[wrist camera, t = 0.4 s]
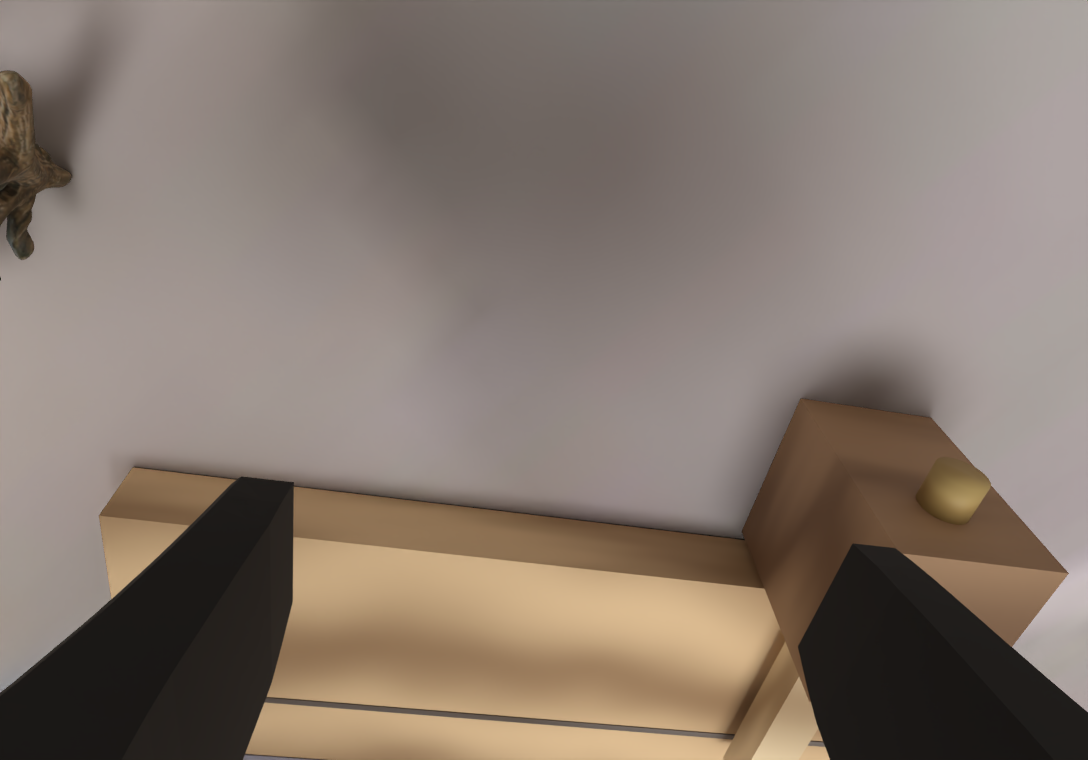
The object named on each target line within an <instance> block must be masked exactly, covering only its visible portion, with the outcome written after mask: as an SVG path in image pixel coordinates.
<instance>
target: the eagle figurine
mask: <svg viewBox="0 0 1088 760" xmlns="http://www.w3.org/2000/svg"><path fill="white" fill-rule="evenodd" d="M71 178H72V177H71V174H70V173H69V172H68V171H66V170H64V169H63V168H61V167H59V166H57V165H56V164H54V163H53V162H52V161H51V157H50V155H49V154H48V153H47V152H46V151H45V150H44V149H43V148H41V147H39V146H38V145H37V144H35V133H34V121H33V106H32V89H31V87H30V84H29V83H28V82H27V81H26V80H25V79H24V78H23V77H22V76H20V75H19V74H18V73H16V72H14V71H2V72H0V225H1V224H2V222H3V221H4V220H5V218H6V217H7V235H6V237H7V240H8V242H9V244H10V246H11V248H12V250H13V251H14V253H15V255H16V256H17V257H18V258H19V259H21V260H24V259H27V258H28V257H29V256H30V255H31V254H32V252H33V251H34V243H33V241H32V239H31V237H30V235H29V233H28V231H27V227H28V225H29V223H30V222H31V219H32V211H31V209H32V206H33V204H34V202H35V197H36V194H37V193H39V192H40V191H42V190H44V189H46V188H53V187H62V186H65V185H67V184H68V183H69V182H70V180H71ZM0 280H1V278H0Z"/></svg>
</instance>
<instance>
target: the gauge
mask: <svg viewBox="0 0 1088 760" xmlns="http://www.w3.org/2000/svg"><path fill="white" fill-rule="evenodd" d="M742 533H743V536H744V538H745V541H746V543H747V546H748V548H749V551H750V553H751V556H752V559H753V561H754V564H755V566H756V569H757V571H758V574H759V576H760V579H761V581H762V584H763V586H764V589H765V591H766V594H767V596H768V599H769V601H770V604H771V607H772V609H773V612H774V614H775V617H776V619H777V622H778V624H779V627H780V629H781V632H782V634H783V637H784V639H785V643H784V645H783V647H782V649H781V651H780V652H779V654H778V656H777V658H776V660H775V662H774V664H773V665H772V667H771V669H770V671H769V673H768V675H767V677H766V678H765V680H764V682H763V684H762V686H761V688H760V690H759V691H758V693H757V695H756V697H755V699H754V701H753V703H752V704H751V706H750V708H749V710H748V712H747V714H746V716H745V717H744V719H743V721H742V723H741V725H740V727H739V729H738V730H737V732H736V734H735V736H734V738H733V740H732V742H731V743H730V745H729V747H728V749H727V751H726V753H725V755H724V756H723V760H799V758H800V757H801V755H802V754H803V752H804V750H805V749H806V747H807V746H808V744H809V742H810V741H811V739H812V738H813V736H814V734H815V733H816V731H817V730H818V726H817V723H816V719H815V716H814V712H813V708H812V704H811V701H810V697H809V693H808V689H807V685H806V681H805V676H804V672H803V667H802V663H801V659H800V654H799V650H798V645H799V643H800V641H801V639H802V638H803V636H804V634H805V632H806V630H807V628H808V626H809V624H810V623H811V621H812V619H813V617H814V615H815V613H816V611H817V609H818V607H819V606H820V604H821V602H822V600H823V598H824V596H825V594H826V592H827V590H828V589H829V587H830V585H831V583H832V581H833V579H834V577H835V575H836V574H837V572H838V570H839V568H840V566H841V564H842V562H843V560H844V558H845V557H846V555H847V553H848V551H849V549H850V547H851V545H852V543H854V544H863V545H872V546H881V547H891V548H896V549H897V550H898V551H900V552H901V553H902V554H904V555H905V556H906V557H907V558H909V559H910V560H911V561H913V562H914V563H915V564H916V565H917V566H919V567H920V568H921V569H922V570H924V571H925V572H926V573H927V574H928V575H930V576H931V577H932V578H933V579H934V580H935V581H937V582H938V583H939V584H940V585H941V586H942V587H944V588H945V589H946V590H947V591H948V592H949V593H951V594H952V595H953V596H954V597H955V598H956V599H957V600H959V601H960V602H961V603H962V604H963V605H964V606H965V607H967V608H968V609H969V610H970V611H971V612H972V613H973V614H975V615H976V616H977V617H978V618H979V619H980V620H981V621H983V622H984V623H985V624H986V625H987V626H988V627H989V628H990V629H992V630H993V631H994V632H995V633H996V634H997V635H998V636H1000V637H1001V638H1002V639H1003V640H1004V641H1005V642H1006V643H1008V644H1009V645H1010V646H1011V647H1012V646H1013V645H1014V643H1015V642H1016V641H1017V639H1018V638H1019V637H1020V636H1021V634H1022V633H1023V632H1024V630H1025V629H1026V628H1027V627H1028V625H1029V624H1030V623H1031V621H1032V620H1033V619H1034V617H1035V616H1036V615H1037V614H1038V612H1039V611H1040V610H1041V608H1042V607H1043V606H1044V605H1045V603H1046V602H1047V601H1048V599H1049V598H1050V597H1051V596H1052V594H1053V593H1054V592H1055V590H1056V589H1057V588H1058V587H1059V585H1060V584H1061V583H1062V581H1063V580H1064V579H1065V578H1066V576H1067V575H1068V574H1069V573H1068V572H1067V571H1066V570H1065V569H1064V568H1063V566H1062V565H1061V564H1060V563H1059V562H1058V561H1057V560H1056V559H1055V557H1054V556H1053V555H1052V554H1051V553H1050V552H1049V551H1048V549H1047V548H1046V547H1045V546H1044V545H1043V544H1042V543H1041V542H1040V540H1039V539H1038V538H1037V537H1036V536H1035V535H1034V534H1033V532H1032V531H1031V530H1030V529H1029V528H1028V527H1027V526H1026V525H1025V523H1024V522H1023V521H1022V520H1021V519H1020V518H1019V517H1018V515H1017V514H1016V513H1015V512H1014V511H1013V510H1012V509H1011V508H1010V506H1009V505H1008V504H1007V503H1006V502H1005V501H1004V500H1003V498H1002V497H1001V496H1000V495H999V494H998V493H997V492H996V491H995V489H994V488H993V487H992V486H991V483H990V481H989V479H988V478H987V477H986V476H985V475H984V474H983V473H982V472H981V471H980V470H978V469H977V468H975V467H974V466H973V465H972V463H971V462H970V461H969V460H968V459H967V458H966V457H965V455H964V454H963V453H962V452H961V451H960V450H959V449H958V448H957V446H956V445H955V444H954V443H953V442H952V441H951V440H950V438H949V437H948V436H947V435H946V434H945V433H944V432H943V431H942V429H941V428H940V427H939V426H938V425H937V424H936V423H935V421H934V420H933V419H932V418H929V417H923V416H916V415H909V414H902V413H896V412H889V411H882V410H875V409H869V408H862V407H855V406H849V405H842V404H835V403H828V402H822V401H815V400H808V399H802V398H801V399H800V401H799V403H798V405H797V408H796V410H795V412H794V415H793V417H792V419H791V421H790V424H789V426H788V428H787V430H786V433H785V435H784V437H783V439H782V442H781V444H780V446H779V448H778V451H777V453H776V455H775V457H774V460H773V462H772V464H771V466H770V469H769V471H768V473H767V475H766V478H765V480H764V482H763V484H762V487H761V489H760V491H759V493H758V496H757V498H756V500H755V502H754V505H753V507H752V509H751V511H750V514H749V516H748V518H747V521H746V523H745V525H744V527H743V530H742Z"/></svg>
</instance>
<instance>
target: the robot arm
mask: <svg viewBox="0 0 1088 760" xmlns="http://www.w3.org/2000/svg"><path fill="white" fill-rule="evenodd" d="M293 517H294V482H284V481H275V480H266V479H257V478H248V477H240V478H239V479H237V480H236V481H234V482H233V483H231V484H230V486H229V487H228V488H227V489H226V490H225V491H224V492H223V493H222V494H221V495H220V496H219V497H218V498H217V499H216V500H215V501H214V502H213V503H212V504H211V505H210V506H209V507H208V508H207V509H206V510H205V511H204V512H203V513H202V514H201V515H200V516H199V517H198V518H197V519H196V520H195V521H194V522H193V523H192V524H191V525H190V526H189V527H188V528H187V529H186V530H185V531H184V532H183V533H182V534H181V535H180V536H179V537H178V538H177V539H176V540H175V541H174V542H173V543H172V544H171V545H170V546H168V547H167V548H166V549H165V550H164V551H163V552H162V553H161V554H160V555H159V556H158V557H157V558H156V559H155V560H154V561H153V562H152V563H151V564H150V565H148V566H147V567H146V568H145V569H144V570H143V571H142V572H141V573H140V574H139V575H137V576H136V577H135V578H134V579H133V580H132V581H131V582H130V583H129V584H128V585H127V586H125V587H124V588H123V589H122V590H121V591H120V592H119V593H118V594H117V595H116V596H115V597H113V598H112V599H111V600H110V601H109V602H108V603H107V604H106V605H105V606H104V607H102V608H101V609H100V610H99V611H98V612H97V613H96V614H95V615H93V616H92V617H91V618H90V619H89V620H88V621H86V622H85V623H84V624H83V625H82V626H81V627H79V628H78V629H77V630H76V631H75V632H73V633H72V634H71V635H70V636H69V637H67V638H66V639H65V640H64V641H63V642H61V643H60V644H59V645H58V646H57V647H55V648H54V649H53V650H52V651H51V652H49V653H48V654H47V655H46V656H45V657H43V658H42V659H41V660H40V661H39V662H37V663H36V664H35V665H34V666H33V667H31V668H30V669H29V670H28V671H27V672H25V673H24V674H23V675H22V676H21V677H19V678H18V679H17V680H16V681H15V682H13V683H12V684H11V685H10V686H8V687H7V688H6V689H5V690H3V691H2V692H1V693H0V760H315V759H300V758H286V757H272V756H257V755H245V753H246V750H247V748H248V745H249V742H250V740H251V737H252V734H253V732H254V729H255V726H256V724H257V721H258V718H259V716H260V713H261V710H262V708H263V705H264V702H265V700H266V697H267V694H268V691H269V689H270V686H271V683H272V680H273V676H274V673H275V669H276V665H277V661H278V658H279V654H280V650H281V646H282V642H283V638H284V635H285V631H286V627H287V623H288V619H289V615H290V611H291V607H292V603H293ZM798 650H799V654H800V659H801V663H802V667H803V672H804V676H805V681H806V685H807V689H808V693H809V697H810V701H811V704H812V708H813V712H814V716H815V719H816V723H817V726H818V729H819V731H820V734H821V737H822V740H823V742H824V745H825V748H826V750H827V753H828V756H829V758H830V760H1088V712H1087V711H1085V710H1084V709H1083V708H1082V707H1081V706H1079V705H1078V704H1077V703H1076V702H1075V701H1074V700H1072V699H1071V698H1070V697H1069V696H1068V695H1066V694H1065V693H1064V692H1063V691H1062V690H1061V689H1059V688H1058V687H1057V686H1056V685H1055V684H1054V683H1052V682H1051V681H1050V680H1049V679H1048V678H1047V677H1045V676H1044V675H1043V674H1042V673H1041V672H1040V671H1038V670H1037V669H1036V668H1035V667H1034V666H1033V665H1032V664H1030V663H1029V662H1028V661H1027V660H1026V659H1025V658H1024V657H1022V656H1021V655H1020V654H1019V653H1018V652H1017V651H1016V650H1014V649H1013V648H1012V647H1011V646H1010V645H1009V644H1008V643H1006V642H1005V641H1004V640H1003V639H1002V638H1001V637H1000V636H998V635H997V634H996V633H995V632H994V631H993V630H992V629H990V628H989V627H988V626H987V625H986V624H985V623H984V622H983V621H981V620H980V619H979V618H978V617H977V616H976V615H975V614H973V613H972V612H971V611H970V610H969V609H968V608H967V607H965V606H964V605H963V604H962V603H961V602H960V601H959V600H957V599H956V598H955V597H954V596H953V595H952V594H951V593H949V592H948V591H947V590H946V589H945V588H944V587H942V586H941V585H940V584H939V583H938V582H937V581H935V580H934V579H933V578H932V577H931V576H930V575H928V574H927V573H926V572H925V571H924V570H922V569H921V568H920V567H919V566H917V565H916V564H915V563H914V562H913V561H911V560H910V559H909V558H907V557H906V556H905V555H904V554H902V553H901V552H900V551H898V550H897V549H896V548H891V547H881V546H872V545H863V544H854V543H852V545H851V547H850V549H849V551H848V553H847V555H846V557H845V558H844V560H843V562H842V564H841V566H840V568H839V570H838V572H837V574H836V575H835V577H834V579H833V581H832V583H831V585H830V587H829V589H828V590H827V592H826V594H825V596H824V598H823V600H822V602H821V604H820V606H819V607H818V609H817V611H816V613H815V615H814V617H813V619H812V621H811V623H810V624H809V626H808V628H807V630H806V632H805V634H804V636H803V638H802V639H801V641H800V643H799V645H798Z"/></svg>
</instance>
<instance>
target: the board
mask: <svg viewBox="0 0 1088 760" xmlns="http://www.w3.org/2000/svg"><path fill="white" fill-rule="evenodd" d="M234 481H236V480H235V479H226V478H218V477H209V476H201V475H193V474H184V473H176V472H167V471H159V470H151V469H142V468H134V467H133V468H132V469H131V471H130V472H129V474H128V475H127V476H126V478H125V479H124V481H123V482H122V483H121V485H120V486H119V488H118V489H117V491H116V492H115V493H114V495H113V496H112V498H111V499H110V501H109V502H108V503H107V505H106V506H105V508H104V509H103V511H102V512H101V513H100V515H99V520H100V526H101V533H102V540H103V546H104V553H105V559H106V566H107V573H108V579H109V586H110V593H111V599H112V598H113V597H115V596H116V595H117V594H118V593H119V592H120V591H121V590H122V589H123V588H124V587H125V586H127V585H128V584H129V583H130V582H131V581H132V580H133V579H134V578H135V577H136V576H137V575H139V574H140V573H141V572H142V571H143V570H144V569H145V568H146V567H147V566H148V565H150V564H151V563H152V562H153V561H154V560H155V559H156V558H157V557H158V556H159V555H160V554H161V553H162V552H163V551H164V550H165V549H166V548H167V547H168V546H170V545H171V544H172V543H173V542H174V541H175V540H176V539H177V538H178V537H179V536H180V535H181V534H182V533H183V532H184V531H185V530H186V529H187V528H188V527H189V526H190V525H191V524H192V523H193V522H194V521H195V520H196V519H197V518H198V517H199V516H200V515H201V514H202V513H203V512H204V511H205V510H206V509H207V508H208V507H209V506H210V505H211V504H212V503H213V502H214V501H215V500H216V499H217V498H218V497H219V496H220V495H221V494H222V493H223V492H224V491H225V490H226V489H227V488H228V487H229V486H230V484H231V483H233V482H234ZM784 643H785V639H784V637H783V634H782V632H781V629H780V627H779V624H778V622H777V619H776V617H775V614H774V612H773V609H772V607H771V604H770V601H769V599H768V596H767V594H766V591H765V589H764V586H763V584H762V581H761V579H760V576H759V574H758V571H757V569H756V566H755V564H754V561H753V559H752V556H751V553H750V551H749V548H748V546H747V543H746V541H745V540H739V539H731V538H722V537H714V536H705V535H697V534H689V533H680V532H672V531H663V530H655V529H647V528H638V527H630V526H621V525H613V524H605V523H596V522H588V521H579V520H571V519H563V518H554V517H546V516H537V515H529V514H521V513H512V512H504V511H495V510H487V509H478V508H470V507H462V506H453V505H445V504H436V503H428V502H420V501H411V500H403V499H394V498H386V497H378V496H369V495H361V494H352V493H344V492H336V491H327V490H319V489H310V488H302V487H294V517H293V603H292V607H291V611H290V615H289V619H288V623H287V627H286V631H285V635H284V638H283V642H282V646H281V650H280V654H279V658H278V661H277V665H276V669H275V673H274V676H273V680H272V683H271V686H270V689H269V691H268V694H267V697H266V700H265V702H264V705H263V708H262V710H261V713H260V716H259V718H258V721H257V724H256V726H255V729H254V732H253V734H252V737H251V740H250V742H249V745H248V748H247V750H246V753H245V754H254V755H269V756H283V757H297V758H312V759H326V760H723V756H724V755H725V753H726V751H727V749H728V747H729V745H730V743H731V742H732V740H733V738H734V736H735V734H736V732H737V730H738V729H739V727H740V725H741V723H742V721H743V719H744V717H745V716H746V714H747V712H748V710H749V708H750V706H751V704H752V703H753V701H754V699H755V697H756V695H757V693H758V691H759V690H760V688H761V686H762V684H763V682H764V680H765V678H766V677H767V675H768V673H769V671H770V669H771V667H772V665H773V664H774V662H775V660H776V658H777V656H778V654H779V652H780V651H781V649H782V647H783V645H784ZM799 760H830V758H829V756H828V753H827V750H826V748H825V745H824V742H823V740H822V737H821V734H820V731H819V729H818V730H817V731H816V733H815V734H814V736H813V738H812V739H811V741H810V742H809V744H808V746H807V747H806V749H805V750H804V752H803V754H802V755H801V757H800V758H799Z"/></svg>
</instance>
